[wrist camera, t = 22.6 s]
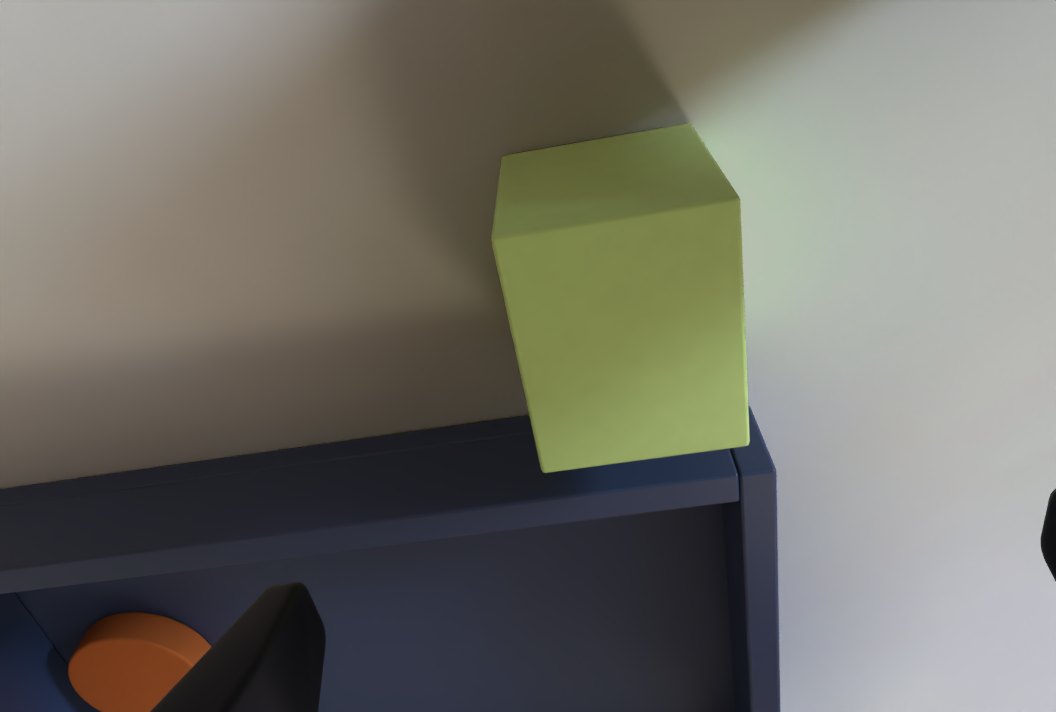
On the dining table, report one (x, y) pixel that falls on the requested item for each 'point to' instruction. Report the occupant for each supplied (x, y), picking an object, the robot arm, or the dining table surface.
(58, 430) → the dining table surface
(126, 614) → the orange flat cylinder
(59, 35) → the dining table surface
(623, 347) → the sponge
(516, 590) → the tray
